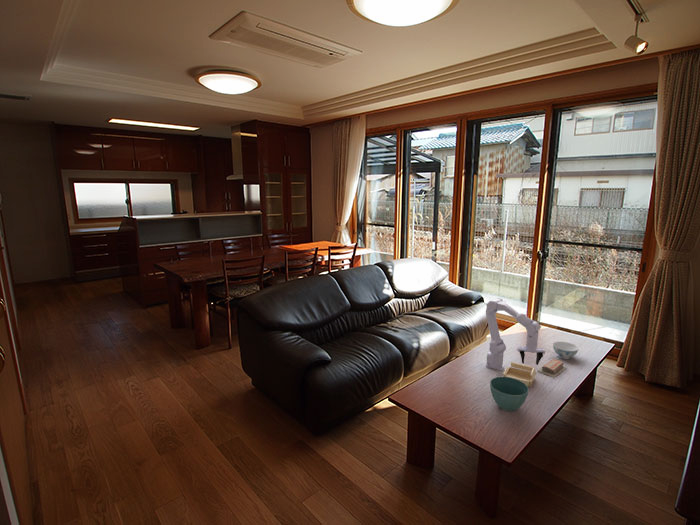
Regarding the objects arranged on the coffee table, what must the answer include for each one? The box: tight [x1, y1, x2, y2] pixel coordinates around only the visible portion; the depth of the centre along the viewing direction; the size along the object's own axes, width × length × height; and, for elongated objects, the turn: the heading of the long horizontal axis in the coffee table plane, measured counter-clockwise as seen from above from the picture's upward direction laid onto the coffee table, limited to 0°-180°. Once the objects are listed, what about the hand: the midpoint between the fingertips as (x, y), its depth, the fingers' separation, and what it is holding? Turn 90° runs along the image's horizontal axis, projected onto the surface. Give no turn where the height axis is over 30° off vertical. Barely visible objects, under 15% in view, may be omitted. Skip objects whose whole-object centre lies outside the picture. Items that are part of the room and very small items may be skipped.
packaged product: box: [537, 358, 567, 378], centre depth 227 cm, size 18×5×10 cm
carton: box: [502, 366, 534, 388], centre depth 217 cm, size 16×13×3 cm
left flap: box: [510, 361, 534, 372], centre depth 221 cm, size 12×1×4 cm, turn 56°
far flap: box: [530, 367, 537, 382], centre depth 212 cm, size 1×10×4 cm, turn 145°
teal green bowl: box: [489, 376, 530, 413], centre depth 189 cm, size 18×18×12 cm
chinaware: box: [552, 341, 579, 360], centre depth 244 cm, size 15×15×8 cm
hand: (529, 363), depth 215 cm, fingers open, 7 cm apart
